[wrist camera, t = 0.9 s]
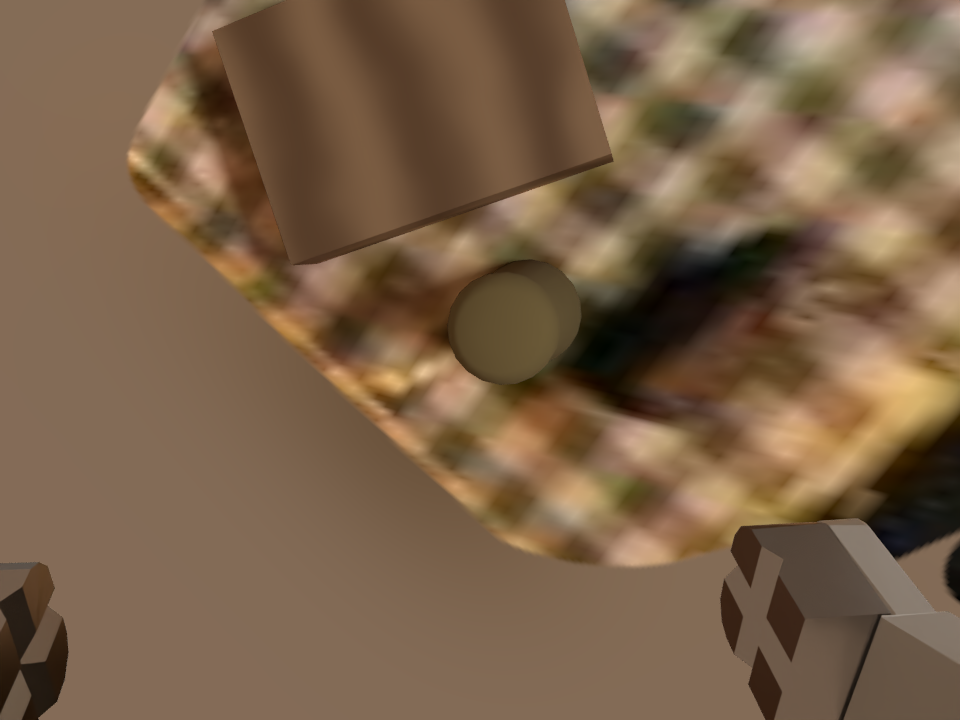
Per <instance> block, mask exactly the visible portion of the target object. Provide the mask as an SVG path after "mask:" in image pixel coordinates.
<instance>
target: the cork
mask: <svg viewBox="0 0 960 720" xmlns="http://www.w3.org/2000/svg"><path fill="white" fill-rule="evenodd" d="M580 320H581V307H580V299H579V297H578V294H577V292H576V290H575V287H574V285H573V284H572V282H571V281H570V280H569V279H568V278H567V277H566V276H565V274H564V273H563V272H562V271H560V270H558V269H557V268H555V267H553V266H552V265H550V264H548V263H545V262H540V261H535V260H522V261H514V262H512V263H510V264H507V265H505V266H503V267H501V268H499V269H498V270H497V271H496V272H495V273H492V274H487V275H485V276H483V277H480V278H478V279H476V280H474V281H472V282H471V283H470V284H469V285H468V286H466V287H465V288H464V289H463V290H462V291H461V292H460V293H459V295H458V296H457V298H456V300H455V302H454V303H453V305H452V307H451V310H450V315H449V320H448V335H449V343H450V345H451V348H452V350H453V352H454V354H455V357H456V359H457V360H458V361H459V362H460V363H461V364H462V366H463V367H464V368H465V369H466V370H467V371H468V372H469V373H471V374H473V375H474V376H476V377H478V378H479V379H481V380H483V381H486V382H491V383H495V384H499V385H502V384H515V383H519V382H521V381H524V380H526V379H529V378H531V377H533V376H534V375H536V374H537V373H538V372H539V371H540V370H541V369H543V368H544V367H545V366H546V365H547V363H548V362H549V361H550V360H553V359H555V358H557V357H558V356H559V355H560V354H562V353H563V352H564V351H565V350H566V349H567V348H569V346H570V345H571V343H572V341H573V340H574V338H575V336H576V335H577V333H578V329H579V325H580Z"/></svg>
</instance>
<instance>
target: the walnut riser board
mask: <svg viewBox="0 0 960 720" xmlns="http://www.w3.org/2000/svg"><path fill="white" fill-rule="evenodd" d="M212 32H213V35H214V38H215V41H216V44H217V47H218V50H219V53H220V56H221V59H222V62H223V65H224V68H225V71H226V74H227V77H228V80H229V83H230V86H231V89H232V92H233V95H234V97H235V100H236V103H237V106H238V109H239V112H240V115H241V118H242V121H243V124H244V127H245V130H246V133H247V136H248V139H249V142H250V145H251V148H252V151H253V154H254V157H255V160H256V163H257V166H258V169H259V172H260V175H261V178H262V180H263V183H264V186H265V189H266V192H267V195H268V198H269V201H270V204H271V207H272V210H273V213H274V216H275V219H276V222H277V225H278V228H279V231H280V234H281V237H282V240H283V243H284V246H285V249H286V252H287V255H288V258H289V261H290V264H291V265H302V264H318V263H321V262H324V261H327V260H329V259H332V258H335V257H338V256H341V255H344V254H347V253H350V252H353V251H355V250H358V249H361V248H364V247H367V246H370V245H373V244H376V243H379V242H381V241H384V240H387V239H390V238H393V237H396V236H399V235H402V234H405V233H407V232H410V231H413V230H416V229H419V228H422V227H425V226H428V225H431V224H433V223H436V222H439V221H442V220H445V219H448V218H451V217H454V216H457V215H459V214H462V213H465V212H468V211H471V210H474V209H477V208H480V207H483V206H485V205H488V204H491V203H494V202H497V201H500V200H503V199H506V198H509V197H511V196H514V195H517V194H520V193H523V192H526V191H529V190H532V189H535V188H537V187H540V186H543V185H546V184H549V183H552V182H555V181H558V180H561V179H563V178H566V177H569V176H572V175H575V174H578V173H581V172H584V171H587V170H590V169H592V168H595V167H598V166H601V165H604V164H607V163H610V162H613V158H612V154H611V150H610V147H609V144H608V141H607V137H606V134H605V131H604V127H603V124H602V121H601V118H600V114H599V111H598V108H597V105H596V101H595V98H594V95H593V92H592V88H591V85H590V82H589V78H588V75H587V72H586V69H585V65H584V62H583V59H582V56H581V52H580V49H579V46H578V43H577V39H576V36H575V33H574V29H573V26H572V23H571V20H570V16H569V13H568V10H567V7H566V3H565V0H286V1H283V2H281V3H279V4H276V5H274V6H271V7H269V8H267V9H264V10H262V11H260V12H257V13H255V14H252V15H250V16H248V17H245V18H243V19H241V20H238V21H236V22H233V23H231V24H229V25H226V26H224V27H222V28H219V29H217V30H214V31H212Z"/></svg>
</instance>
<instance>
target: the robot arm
mask: <svg viewBox="0 0 960 720" xmlns="http://www.w3.org/2000/svg"><path fill="white" fill-rule="evenodd" d="M731 553H732V555H733V557H734V558H735V560H736V562H737V564H738V566H737V567H736V568H734V569H733V570H732V571H731V572H730V573H729V574H728V575H727V576H726V577H725V578H724V582H723V587H722V592H721V598H720V601H721V602H720V603H721V617H722V623H723V627H724V631H725V634H726V638H727V640H728V642H729V644H730V647H731V649H732V651H733V653H734V655H736V656H737V657H739V658H740V659H741V660H742V661H744V662H745V663H747V664H748V665H749V666H751V667H752V672H751V676H750V680H749V683H748V685H749V687H750V689H751V691H752V693H753V695H754V697H755V699H756V701H757V703H758V706H759V708H760V710H761V712H762V714H763V716H764V718H765V720H960V618H959V617H957V616H955V615H953V614H951V613H950V612H936V611H935V610H934V609H933V607H932V606H931V605H930V604H929V602H928V601H927V600H926V599H925V597H924V596H923V595H922V593H921V592H920V591H919V590H918V588H916V586H915V585H914V583H913V582H912V581H911V580H910V578H909V577H908V576H907V574H906V573H905V572H904V571H903V569H902V568H901V567H900V566H899V564H898V563H897V562H896V560H895V559H894V558H893V557H892V555H891V554H890V553H889V551H888V550H887V549H886V548H885V546H884V545H883V544H882V543H881V541H880V540H879V539H878V538H877V536H876V535H875V534H874V532H873V531H872V530H871V529H870V527H869V526H868V525H867V524H866V523H864V522H863V521H861V520H859V519H857V518H855V519H841V520H826V521H818V522H805V523H788V524H771V525H754V526H741V527H740V528H739V530H738V531H737V533H736V534H735V536H734V540H733V544H732V548H731ZM54 589H55V587H54V584H53V581H52V578H51V575H50V572H49V569H48V566H46V565H44V564H42V563H40V562H33V563H32V562H30V563H0V720H39V719H38V718H39V717H40V716H41V715H42V714H43V713H45V712H46V711H47V710H48V709H49V708H50V707H51V706H53V705H54V704H55V703H56V702H57V700H58V697H59V694H60V692H61V689H62V686H63V683H64V680H65V674H66V666H67V659H68V639H67V631H66V627H65V623H64V619H63V617H62V616H60V615H59V614H58V613H57V612H55V611H54V610H53V609H51V608H50V607H49V606H48V603H49V601H50V598H51V596H52V594H53V591H54Z"/></svg>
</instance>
